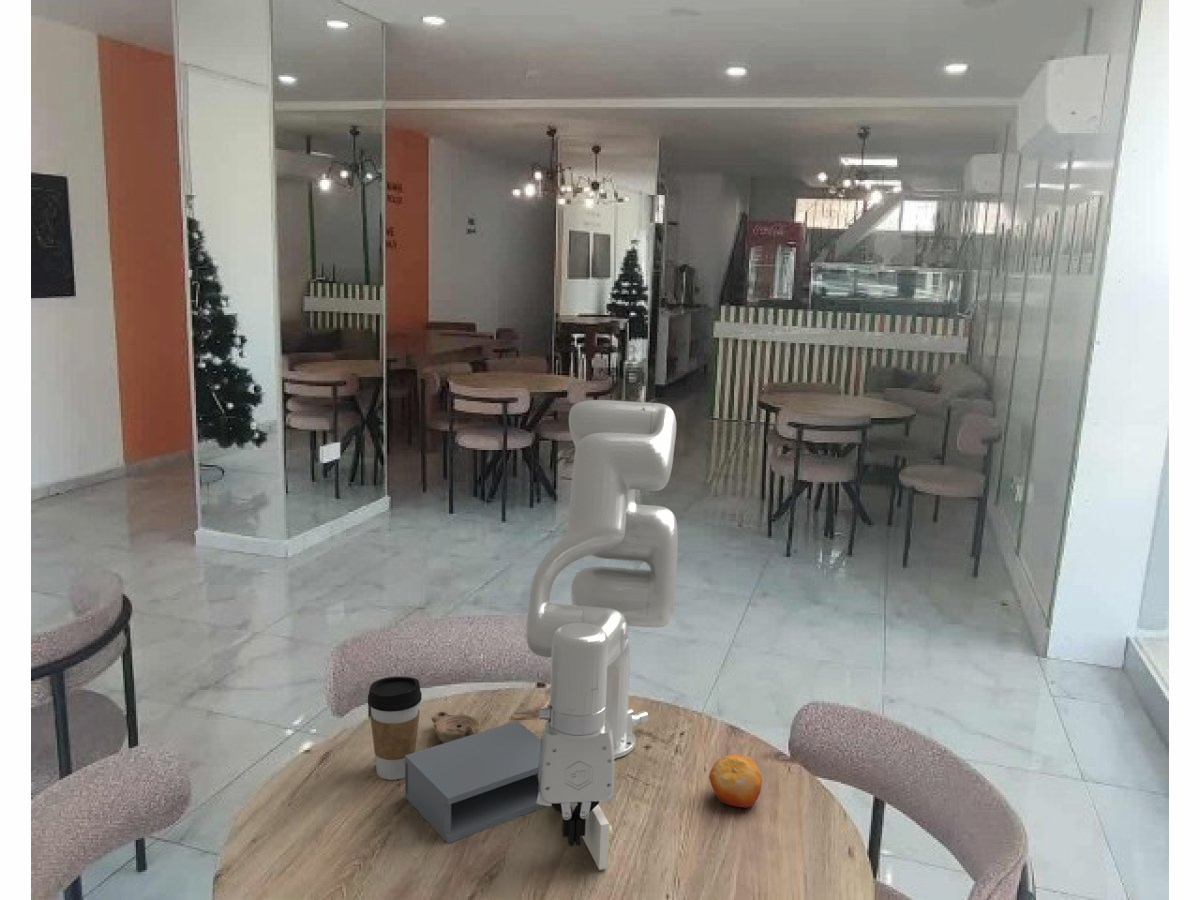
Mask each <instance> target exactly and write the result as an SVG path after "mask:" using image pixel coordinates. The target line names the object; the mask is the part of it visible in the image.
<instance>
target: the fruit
mask: <svg viewBox="0 0 1200 900" xmlns="http://www.w3.org/2000/svg"><path fill="white" fill-rule="evenodd" d="M708 775H709V776H708V777H709V782H710V785H711V788H712V790H713V792H714V794H715V795H716V797H717V799H718V801H719V802H721V803H722V804H725V805H727V806H731V807H732V806H733V807H734V808H735V807H737V808H744V809H745V808H750V807H752V806H753V805H755V803H756V802H757V800H758V798H759V797H760V794H761V791H762V782H763V778H762V777H763V776H762V773H761V770H760V768H759V767H758V765H757V763H756V762H755V761H754V759H753V758H751V756H748V755H744V754H738V753H732V754H727V755H724V756H723V757H721V758H719V759H717V761H716V762H715V763H714V764H713V766H712V767H711V769H710V772H709V774H708Z"/></svg>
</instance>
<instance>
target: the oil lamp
mask: <svg viewBox="0 0 1200 900" xmlns="http://www.w3.org/2000/svg"><path fill="white" fill-rule="evenodd" d="M430 719H431V721H432V723H433V727H434V728H435V733H436V735H437V737H438V739H439V741H441V742H442V744H444V743H447V742H450V741H454V740H457V739H460V738H463V737H467V736H470V735H473V734H476V733H480V732H481V723H480V721H479V720H478V719H477V718H475V717H472V716H469V715H464V713H462V712H461V713H458V714H454V713H453V714H452V713H451V711H450V710H444V711H438V712H436V713H434V715H433V716H431V718H430Z"/></svg>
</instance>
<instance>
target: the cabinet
mask: <svg viewBox="0 0 1200 900" xmlns="http://www.w3.org/2000/svg"><path fill="white" fill-rule="evenodd" d="M479 732H480V733H476V734H473V735H470V736H467V737H463V738H460V739H457V740H454V741H450V742H447V743H441V744H437V745H434V746H431V747H428V748H425V749H422V750H419V751H418V750H417V751H415V753H411V754H408V755H405V778H404V780H405V781H404V783H405V784H404V790H405V791H404V793H405V794H404V795H405V799H406V800H407V801H408V803H410V804H411V805H412V806H413V808H414V809H417V810H418V811H419V812H418V811H417V810H416V811H417V812H418V813H419V814H420V813H421V814H420V815H421V816H422V817H423V818H424V820H425V821H426V822H427V823H428V822H429V823H428V824H429V825H430V826H431V827H432V828H433V829H434V830H435V832H437V833H438V835H439V836H440V837H441V838H442V839H443V840H444V841H445V842H446V843H447V844H451V843H454V842H456V841H459V840H461V839H464V838H467V837H469V836H473V835H475V834H477V833H480V832H482V831H485V830H487V829H490V828H493V827H496V826H498V825H500V824H503V823H506V822H508V821H511V820H513V819H516V818H518V817H522V816H525V815H526V814H529V813H531V812H534V811H537V810H540V809H543V808H545V807H546V806H545V805H539V804H537V802H536V793H537V789H538V786H539V783H538V765H539V754H540V746H541V740H542V738H540V737H539V736H538V735H536V734H535V733H533V731H531V730H530V729H529V728H527V727H526V726H525V725H523V723H521V722H519V721H518V720H516V721H513V722H509V723H506V724H502V725H500V726H497V727H496V726H495V727H493V728H490V729H486V730H483V731H479Z"/></svg>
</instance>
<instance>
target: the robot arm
mask: <svg viewBox="0 0 1200 900" xmlns="http://www.w3.org/2000/svg"><path fill="white" fill-rule="evenodd" d="M569 410H570V411H569V412H568V426H569V427H568V428H569V433H570V436H571V439H572V441H573V442H572V443H573V444H574V447H575V449H574V458H573V459H574V460H573V466H572V467H573V469H572V478H571V488H570V489H571V490H570V498H569V499H570V500H569V509H568V518H567V519H568V520H567V529H566V532H565V534H564V535H563V536H562V538H560V540H559V541H557V542H556V543H555V544H554V545H553V546H552V547H551V548H550V549H549V550H548V552H547V553H546V554H545V555H544V557H543V558H542V560H541V561H540V562H539V565H538V566H537V568H536V570H535V572H534V575H533V577H532V581H531V585H530V590H529V596H528V597H529V598H528V599H529V600H528V607H527V615H526V624H525V638H526V644H527V647H528V649H529V650H530V651H531V652H532V653H533V654H534V655H536V656H539V657H541V658H542V657H543V658H550V659H551V660H550V661H551V662H550V688H549V689H550V693H549V694H550V697H549V702H548V704H547V707H544V708H539V711H538V719H539V720H544V721H546V722H545V724H544V728H543V731H542V735H541V739H542V740H541V746H540V754H539V765H538V783H539V786H538V789H537V793H536V802H537V804H539V805H545V807H552V808H553V809H554V810H556V811H557V812H558V813H559V814H560V815H561V817H562V830H561V831H562V837H563V838H567V843H568V847H574V845H575V846H577V847H580V846H581V841H582V836H585V824H586V818H587V817H588V815H589V813H590V812H591V811H592V810H593V809H594V808H595V807H596V806H597V805H599V804H603V803H607V802H611V801H613V800H614V798H615V795H614V793H615V760H617V759H619V758H622V757H624V756H626V755H628V754H630V753H631V752H632V751H633V749H634V748H635V746H636V735H635V733H634V731H633V729H634V728H635V727H636V725H640V724H643V723H646V722H649V714H648V712H647V711H646V710H642V711H639V712H636V713H635V712H634V710H633V709H632V708H629V689H630V667H631V665H630V663H631V647H630V643H629V641H628V639H629V627H638V628H639V627H642V628H664V627H666V626H668V625H669V624H670V623H671V622H672V620H673V616H674V613H675V605H676V594H677V593H676V591H677V590H676V589H677V570H678V569H677V564H678V545H679V541H678V539H679V535H678V534H679V533H678V524H677V519H676V516H675V514H674V513H673V511H672V510H671V509H669V508H667V507H665V506H661V505H649V504H648V505H647V504H637V502H636V501H635V500H636V499H635V498H636V490H637V491H650V492H651V491H653V492H656V491H658V492H659V491H661V490H664V488H665V487H667V485H668V483H669V480H670V477H671V474H672V469H673V462H674V454H675V453H674V452H675V444H676V439H677V438H676V435H677V420H676V415H675V414H676V413H674V410H673V409H672V408H671V407H670V406H669V405H667V404H664V403H658V402H648V401H647V402H645V401H644V402H643V401H626V400H625V401H624V400H612V399H611V400H608V399H592V400H591V399H589V400H584V401H580V402H577V403H575V404H573V406H571V409H569ZM587 556H591V557H593V558H596V559H601V560H610V561H612V560H614V561H625V562H626V561H627V562H639V563H645V564H646V565H648V566H649V569H639V568H627V567H616V566H615V567H614V566H589V567H586V568H582V569H581V570H579V571H578V572H577V573H576V574H575V575H574V577H573V578H572V582H571V589H570V597H571V604H562V603H550V598H551V591H552V588H553V585H554V582H555V580H556V579H557V577H558V576H559V574H560V573H561V572H562V571H563V570H564V569H566V568H567V567H568V566H569V565H571V564H572V563H574V562H576V561H578V560H580V559H583V558H585V557H587ZM634 713H635V714H634ZM577 802H578V803H577ZM570 803H577V806H576V807H575V809H572V807H571V806H570Z"/></svg>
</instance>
